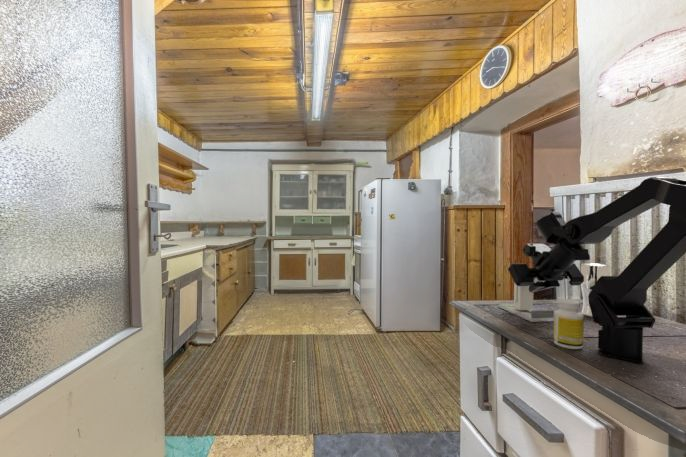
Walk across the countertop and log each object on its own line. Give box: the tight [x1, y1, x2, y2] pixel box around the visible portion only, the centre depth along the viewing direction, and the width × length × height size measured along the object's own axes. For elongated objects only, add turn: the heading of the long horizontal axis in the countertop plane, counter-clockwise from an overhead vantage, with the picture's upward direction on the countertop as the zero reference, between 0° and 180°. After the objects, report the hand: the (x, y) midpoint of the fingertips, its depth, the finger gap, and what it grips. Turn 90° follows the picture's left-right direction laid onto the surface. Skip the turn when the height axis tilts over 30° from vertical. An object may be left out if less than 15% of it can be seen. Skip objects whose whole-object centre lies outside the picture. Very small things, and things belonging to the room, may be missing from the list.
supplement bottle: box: [553, 298, 585, 350], centre depth 72 cm, size 5×5×10 cm
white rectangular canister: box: [513, 281, 534, 310], centre depth 97 cm, size 3×4×11 cm
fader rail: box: [498, 303, 555, 323], centre depth 97 cm, size 16×7×3 cm, turn 6°
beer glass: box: [580, 262, 611, 318], centre depth 96 cm, size 7×7×15 cm
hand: (530, 290), depth 94 cm, fingers closed
